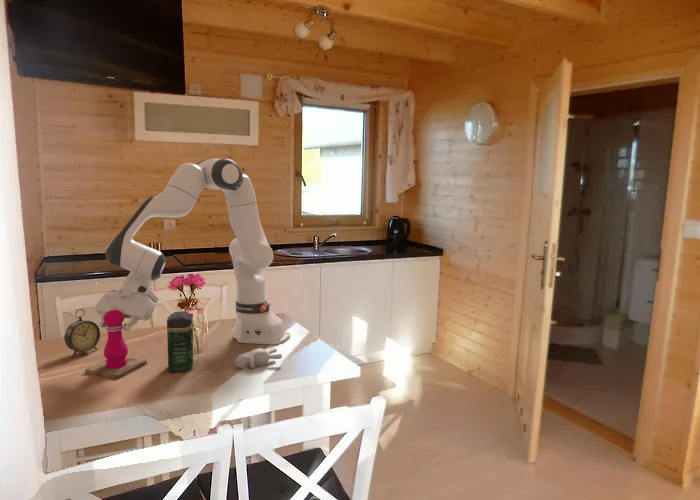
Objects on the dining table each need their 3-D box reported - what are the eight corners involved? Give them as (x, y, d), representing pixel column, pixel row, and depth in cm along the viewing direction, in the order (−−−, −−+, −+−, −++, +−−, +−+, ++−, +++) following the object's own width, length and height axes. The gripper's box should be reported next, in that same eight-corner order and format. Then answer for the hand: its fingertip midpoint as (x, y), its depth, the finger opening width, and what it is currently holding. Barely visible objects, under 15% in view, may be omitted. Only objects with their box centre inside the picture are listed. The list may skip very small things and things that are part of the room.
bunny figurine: (231, 352, 173) (274, 341, 179) (233, 365, 174) (275, 355, 180) (238, 361, 164) (282, 350, 170) (240, 376, 165) (284, 364, 171)
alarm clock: (71, 359, 174) (68, 313, 171) (63, 356, 176) (59, 310, 174) (102, 350, 183) (99, 306, 180) (93, 347, 186) (90, 304, 183)
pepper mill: (122, 369, 163) (119, 309, 160) (100, 368, 163) (96, 308, 160) (132, 360, 170) (129, 303, 167) (111, 360, 170) (107, 302, 167)
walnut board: (146, 363, 171) (146, 360, 171) (118, 378, 159) (118, 375, 159) (115, 358, 175) (115, 355, 175) (85, 373, 163) (85, 369, 162)
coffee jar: (192, 372, 165) (190, 317, 162) (166, 374, 163) (164, 318, 160) (194, 361, 174) (193, 308, 171) (170, 362, 172) (168, 310, 169)
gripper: (103, 284, 172) (81, 319, 165) (153, 289, 166) (134, 327, 159) (113, 293, 177) (93, 329, 170) (163, 299, 171) (144, 336, 164)
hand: (113, 328), depth 164 cm, fingers open, 8 cm apart
